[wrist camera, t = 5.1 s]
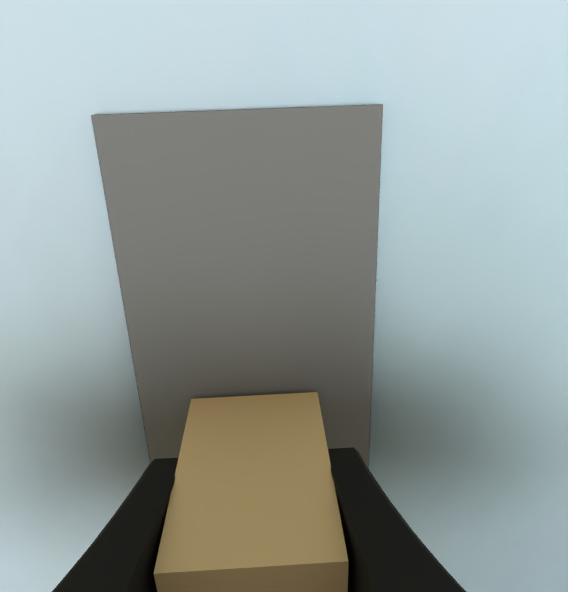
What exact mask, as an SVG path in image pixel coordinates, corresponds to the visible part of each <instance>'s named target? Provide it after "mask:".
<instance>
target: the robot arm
mask: <svg viewBox="0 0 568 592" xmlns="http://www.w3.org/2000/svg"><path fill="white" fill-rule="evenodd" d="M328 453H329V458H330V463H331V467H330V469H331V474H332V478H333V481H334V485H335V491H336V496H337V502H338V507H339V513H340V518H341V523H342V529H343V534H344V540H345V545H346V551H347V556H348V592H466V591H465V590H464V589H463V588H462V587H461V586H460V585H459V584H458V583H457V581H456V580H455V579H454V578H453V577H452V576H451V575H450V574H449V573H448V572H447V571H446V569H445V568H444V567H443V566H442V565H441V564H440V563H439V562H438V560H437V559H436V558H435V557H434V556H433V554H432V553H431V552H430V551H429V550H428V549H427V547H426V546H425V545H424V544H423V543H422V542H421V540H420V539H419V538H418V537H417V535H416V534H415V533H414V532H413V530H412V529H411V528H410V527H409V525H408V524H407V523H406V521H405V520H404V519H403V517H402V516H401V515H400V513H399V512H398V511H397V509H396V508H395V507H394V506H393V504H392V503H391V501H390V500H389V499H388V497H387V496H386V494H385V493H384V492H383V490H382V489H381V487H380V486H379V484H378V483H377V481H376V480H375V478H374V477H373V475H372V474H371V472H370V471H369V469H368V467H367V466H366V464H365V462H364V461H363V459H362V457H361V456H360V454H359V452H358V451H357V450H356V449H355V448H354V447H351V448H334V449H328ZM177 463H178V458H162V459H154V460H153V461H152V462H151V463H150V464H149V466H148V467H147V469H146V470H145V472H144V473H143V475H142V476H141V478H140V479H139V480H138V482H137V483H136V485H135V486H134V488H133V489H132V491H131V492H130V493H129V495H128V496H127V498H126V499H125V501H124V502H123V503H122V505H121V506H120V508H119V509H118V510H117V512H116V513H115V514H114V516H113V517H112V518H111V520H110V521H109V522H108V524H107V525H106V526H105V528H104V529H103V530H102V531H101V533H100V534H99V535H98V537H97V538H96V539H95V541H94V542H93V543H92V544H91V546H90V547H89V548H88V549H87V551H86V552H85V553H84V554H83V555H82V557H81V558H80V559H79V560H78V562H77V563H76V564H75V565H74V566H73V568H72V569H71V570H70V571H69V572H68V574H67V575H66V576H65V577H64V578H63V580H62V581H61V582H60V583H59V584H58V585H57V587H56V588H55V589H54V590H53V591H52V592H157V588H156V583H155V578H154V569H155V565H156V560H157V555H158V551H159V546H160V541H161V537H162V532H163V527H164V523H165V518H166V514H167V509H168V504H169V500H170V495H171V492H172V489H173V485H174V481H175V477H176V476H175V472H176V467H177Z"/></svg>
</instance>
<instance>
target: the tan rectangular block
mask: <svg viewBox="0 0 568 592" xmlns="http://www.w3.org/2000/svg"><path fill="white" fill-rule="evenodd" d="M330 467H331V463H330V458H329V453H328V447H327V442H326V436H325V431H324V425H323V420H322V414H321V409H320V403H319V398H318V393H317V392H308V393H290V394H271V395H253V396H235V397H217V398H198V399H191V402H190V407H189V411H188V416H187V421H186V425H185V430H184V435H183V439H182V444H181V449H180V453H179V458H178V463H177V467H176V472H175V476H176V477H175V481H174V485H173V489H172V492H171V495H170V500H169V504H168V509H167V514H166V518H165V523H164V527H163V532H162V537H161V541H160V546H159V551H158V555H157V560H156V565H155V569H154V578H155V583H156V588H157V592H348V556H347V551H346V545H345V540H344V534H343V529H342V523H341V518H340V513H339V507H338V502H337V496H336V491H335V485H334V481H333V478H332V474H331V469H330Z"/></svg>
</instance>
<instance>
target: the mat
mask: <svg viewBox="0 0 568 592" xmlns="http://www.w3.org/2000/svg"><path fill="white" fill-rule="evenodd" d="M382 117H383V105H353V106H326V107H299V108H271V109H244V110H216V111H189V112H161V113H134V114H106V115H91V118H92V124H93V130H94V135H95V141H96V147H97V153H98V159H99V165H100V171H101V176H102V182H103V188H104V194H105V200H106V206H107V212H108V218H109V223H110V229H111V235H112V241H113V247H114V253H115V259H116V265H117V270H118V276H119V282H120V288H121V294H122V300H123V306H124V311H125V317H126V323H127V329H128V335H129V341H130V347H131V353H132V358H133V364H134V370H135V376H136V382H137V388H138V394H139V400H140V405H141V411H142V417H143V423H144V429H145V435H146V441H147V446H148V452H149V458H150V463H151V462H152V461H153V460H154V459H162V458H179V453H180V449H181V444H182V439H183V435H184V430H185V425H186V421H187V416H188V411H189V407H190V402H191V399H198V398H217V397H235V396H253V395H271V394H290V393H308V392H317V393H318V398H319V403H320V409H321V414H322V420H323V425H324V431H325V436H326V442H327V447H328V449H334V448H351V447H354V448H355V449H356V450H357V451H358V452H359V454H360V456H361V457H362V459H363V461H364V462H365V464H366V466H367V467H368V466H369V441H370V416H371V391H372V367H373V342H374V317H375V292H376V267H377V242H378V217H379V192H380V167H381V142H382Z"/></svg>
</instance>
